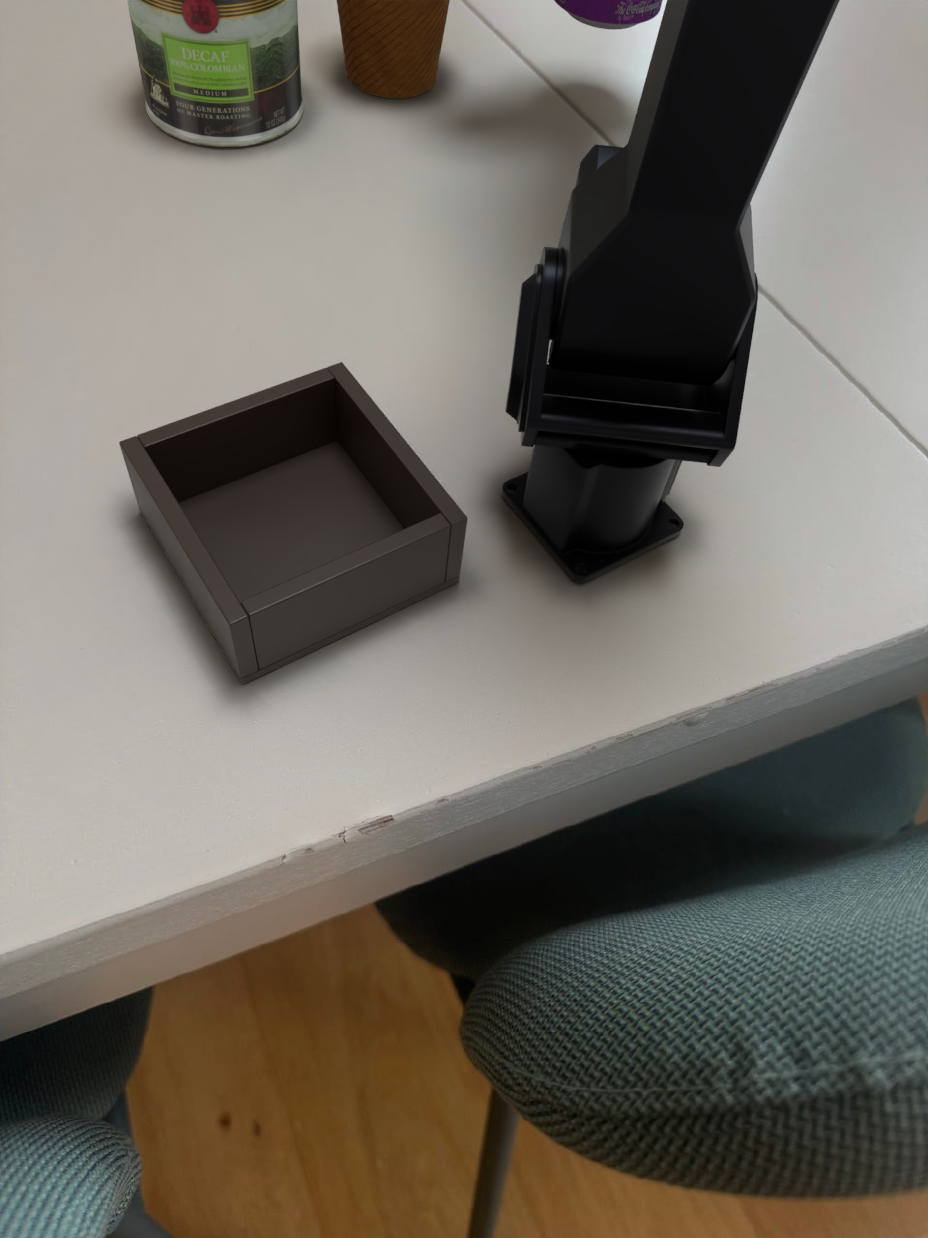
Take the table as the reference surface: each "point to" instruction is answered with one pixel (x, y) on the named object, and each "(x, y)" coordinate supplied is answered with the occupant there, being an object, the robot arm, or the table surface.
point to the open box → (295, 517)
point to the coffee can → (219, 68)
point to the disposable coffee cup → (392, 44)
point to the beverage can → (611, 12)
